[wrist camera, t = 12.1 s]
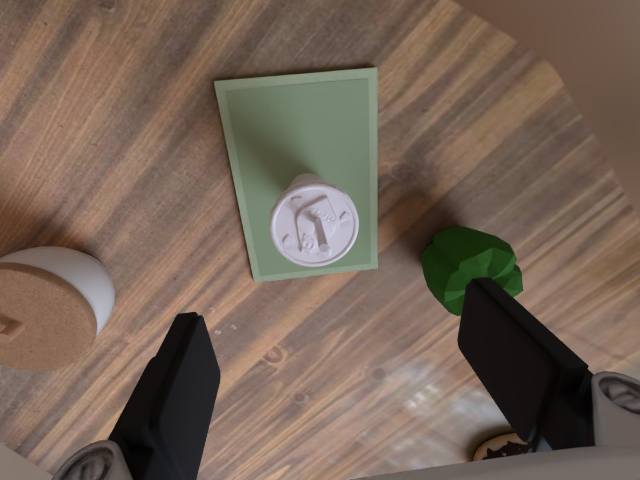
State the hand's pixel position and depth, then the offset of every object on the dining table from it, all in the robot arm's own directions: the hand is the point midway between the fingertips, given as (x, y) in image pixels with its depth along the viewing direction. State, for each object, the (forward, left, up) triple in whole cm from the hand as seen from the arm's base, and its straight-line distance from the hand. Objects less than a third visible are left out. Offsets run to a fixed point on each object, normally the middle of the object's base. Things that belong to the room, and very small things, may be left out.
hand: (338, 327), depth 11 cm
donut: (+49, +29, -22) cm, 61 cm away
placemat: (0, 0, -21) cm, 21 cm away
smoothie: (+1, 0, -21) cm, 21 cm away
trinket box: (+7, -25, -22) cm, 34 cm away
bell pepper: (+9, +15, -22) cm, 28 cm away
